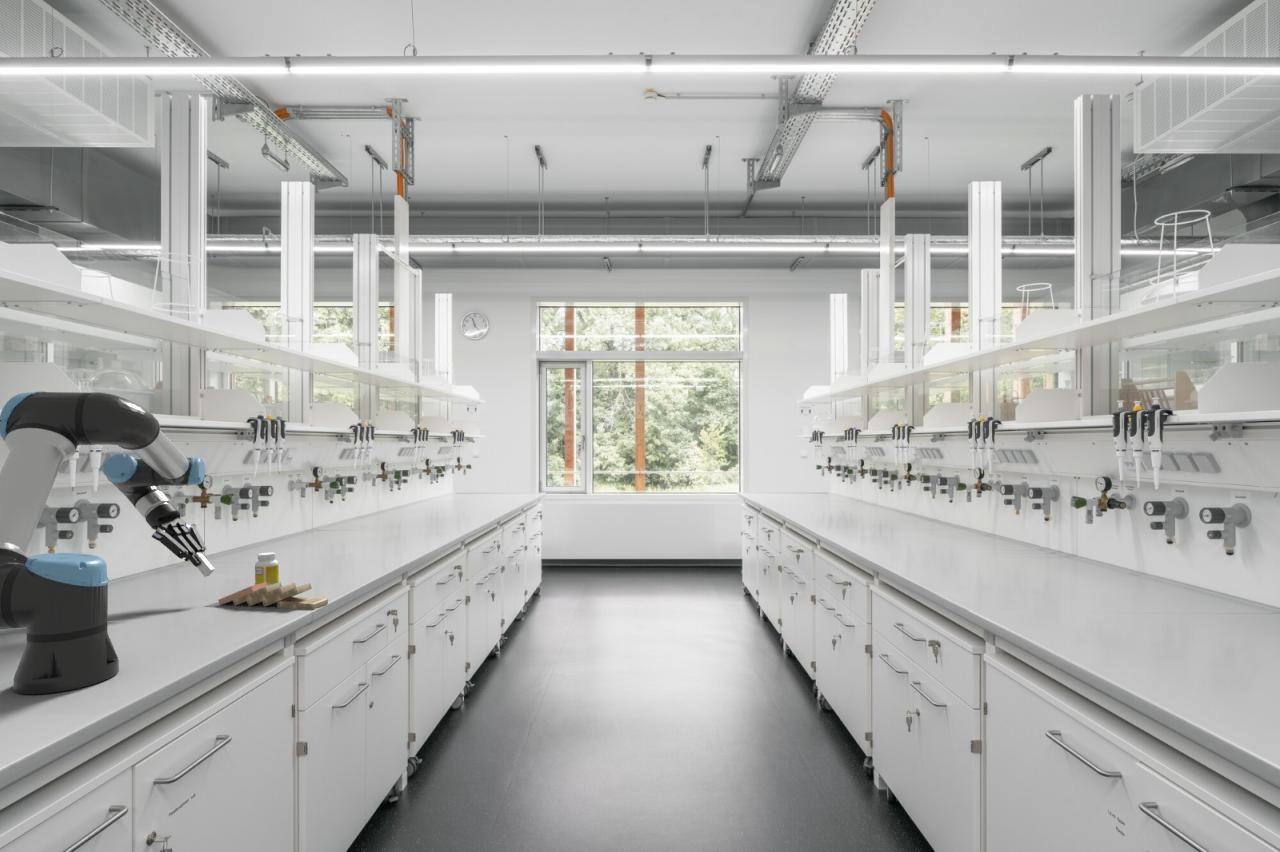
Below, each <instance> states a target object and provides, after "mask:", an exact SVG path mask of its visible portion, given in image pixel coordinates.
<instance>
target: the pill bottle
mask: <svg viewBox="0 0 1280 852" xmlns="http://www.w3.org/2000/svg"><path fill="white" fill-rule="evenodd" d="M276 555H277V554H276V552H261V553H258V554H257V560H258V561H257V562H255V565H254V585H257V584H260V583H264V582H267V585H268V586H269V585H273V584H276V583H280V580H279V579H280V578H279V576H280V575H279V574H280V573H279V561H278V560H277V559H276Z"/></svg>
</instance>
